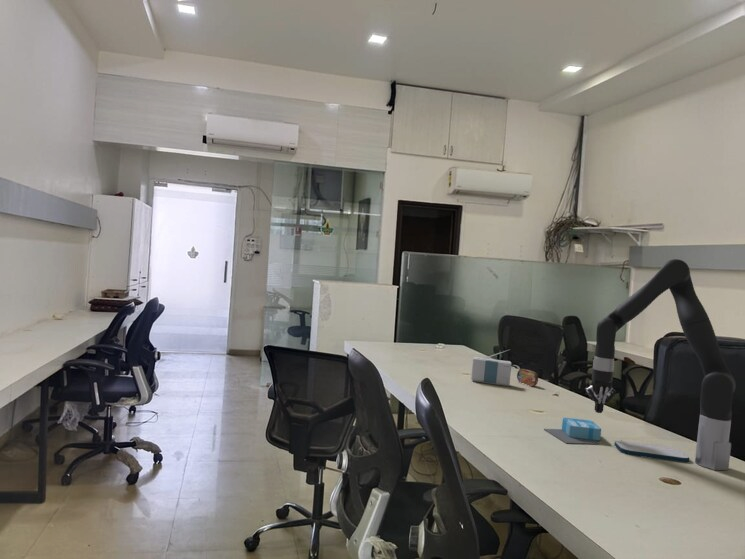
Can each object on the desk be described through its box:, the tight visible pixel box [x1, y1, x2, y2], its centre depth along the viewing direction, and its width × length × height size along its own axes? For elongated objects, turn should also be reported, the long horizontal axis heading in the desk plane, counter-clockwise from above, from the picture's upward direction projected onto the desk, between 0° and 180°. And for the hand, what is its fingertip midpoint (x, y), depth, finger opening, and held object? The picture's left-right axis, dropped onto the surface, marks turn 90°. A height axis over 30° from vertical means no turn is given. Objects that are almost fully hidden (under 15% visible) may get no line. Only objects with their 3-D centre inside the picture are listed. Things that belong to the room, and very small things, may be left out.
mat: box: [543, 428, 600, 445], centre depth 203 cm, size 16×14×1 cm
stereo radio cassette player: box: [470, 349, 512, 387], centre depth 292 cm, size 21×8×20 cm, turn 73°
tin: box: [516, 368, 539, 387], centre depth 298 cm, size 15×3×8 cm, turn 25°
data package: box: [561, 417, 602, 441], centre depth 206 cm, size 12×4×12 cm
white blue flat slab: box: [614, 440, 690, 463], centre depth 191 cm, size 24×12×2 cm, turn 81°
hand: (598, 412), depth 205 cm, fingers closed
